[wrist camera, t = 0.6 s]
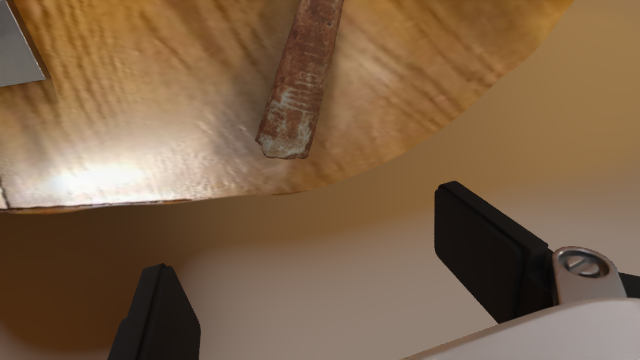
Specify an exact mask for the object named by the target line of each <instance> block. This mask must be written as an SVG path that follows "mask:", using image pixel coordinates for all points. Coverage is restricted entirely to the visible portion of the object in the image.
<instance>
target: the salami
mask: <svg viewBox="0 0 640 360" xmlns="http://www.w3.org/2000/svg"><path fill="white" fill-rule="evenodd" d="M343 2H344V0H300V3H299V6H298V9H297V12H296V15H295V18H294V21H293V24H292V27H291V30H290V33H289V36H288V39H287V42H286V45H285V48H284V52H283V55H282V58H281V61H280V64H279V67H278V70H277V74H276V78H275V82H274V85H273V88H272V90H271V93H270V96H269V98H268V101H267V104H266V107H265V111H264V114H263V117H262V120H261V123H260V126H259V130H258V133H257V136H256V139H255V141H256V142H258V143H259V144H260V145H261V146H262V151H263V154H264V155H265V156H266V157H268V158H280V159H295V158H300V159H305V158H307V157H308V153H309V150H310V147H311V144H312V141H313V136H314V133H315V128H316V124H317V119H318V116H319V110H320V104H321V100H322V96H323V93H324V89H325V86H326V80H327V76H328V72H329V68H330V64H331V60H332V55H333V50H334V47H335V40H336V35H337V31H338V27H339V23H340V17H341V12H342V7H343Z"/></svg>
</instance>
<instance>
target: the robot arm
mask: <svg viewBox="0 0 640 360" xmlns="http://www.w3.org/2000/svg"><path fill="white" fill-rule="evenodd" d="M434 218H435V219H434V222H435V223H434V225H435V226H434V228H435V229H434V236H435V237H434V239H435V240H434V244H435V245H434V248H435V252H436V254H437V256H438V257H439V259H440V260H441V261H442V262H443V263H444V264H445V265H446V266H447V267H448V268H449V270H450V271H451V272H452V273H453V274H454V275H455V276H456V277H457V279H458V280H459V281H460V282H461V283H462V284H463V285H464V286H465V287H466V288H467V290H468V291H469V292H470V293H471V294H472V295H473V296H474V297H475V298H476V300H477V301H478V302H479V303H480V304H481V305H482V306H483V307H484V308H485V309H486V311H487V312H488V313H489V314H490V315H491V316H492V317H493V318H494V320H495V321H496V322H497V323H498V325H495V326H493V327H490V328H487V329H484V330H482V331H479V332H476V333H473V334H470V335H467V336H465V337H462V338H459V339H456V340H454V341H451V342H448V343H445V344H442V345H440V346H437V347H434V348H431V349H429V350H426V351H423V352H420V353H417V354H415V355H412V356H409V357H406V358H404V359H401V360H640V276H634V275H629V274H625V273H619V272H618V271H617V268H616V267H615V265H614V264H613V262H612V261H610V260H609V259H608V258H607V257H606V256H604V255H602V254H600V253H598V252H596V251H593V250H590V249H587V248H582V247H574V246H568V247H562V248H559V249H557V250H556V251H555V252H553V251H551V250H550V249H548V244H547V243H546V242H544V241H543V240H541V239H540V238H538V237H537V236H535V235H534V234H533V233H531V232H530V231H528V230H527V229H525V228H524V227H522V226H521V225H519V224H518V223H517V222H515V221H514V220H512V219H511V218H509V217H508V216H506V215H505V214H503V213H502V212H501V211H499V210H498V209H496V208H495V207H493V206H492V205H491V204H489V203H488V202H486V201H485V200H483V199H482V198H480V197H479V196H478V195H476V194H475V193H473V192H472V191H470V190H469V189H467V188H466V187H464V186H463V185H462V184H460V183H458V182H457V181H451V182H448V183H444V184H441V185H439V187H438V190H436V191H435V217H434ZM200 335H201V329H200V324H199V321H198V319H197V317H196V315H195V313H194V311H193V309H192V307H191V304H190V302H189V300H188V298H187V296H186V294H185V292H184V290H183V288H182V286H181V284H180V282H179V280H178V278H177V276H176V273H175V271H174V269H173V268H172V266H167V267H166V265H165V264H164V263H162V264H158V265H154V266H151V267H147V268H145V269H143V271H142V274H141V277H140V280H139V283H138V286H137V289H136V292H135V295H134V298H133V301H132V304H131V307H130V310H129V313H128V316H127V317H125V318H124V319H123V320H122V321H121V323H120V325H119V328H118V331H117V334H116V337H115V339H114V342H113V345H112V348H111V351H110V354H109V357H108V359H107V360H199V348H200Z"/></svg>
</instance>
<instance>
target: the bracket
mask: <svg viewBox="0 0 640 360" xmlns="http://www.w3.org/2000/svg"><path fill="white" fill-rule="evenodd" d="M48 78H51V76H50V74H49V72H48V70H47V68H46V66H45V64H44V62H43V60H42V58H41V56H40V54H39V52H38V50H37V48H36V46H35V44H34V42H33V40H32V38H31V36H30V34H29V32H28V30H27V28H26V26H25V24H24V22H23V20H22V18H21V16H20V14H19V12H18V10H17V8H16V6H15V4H14V2H13V0H0V87H3V86H9V85H15V84H21V83H27V82H33V81H39V80H45V79H48Z"/></svg>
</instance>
